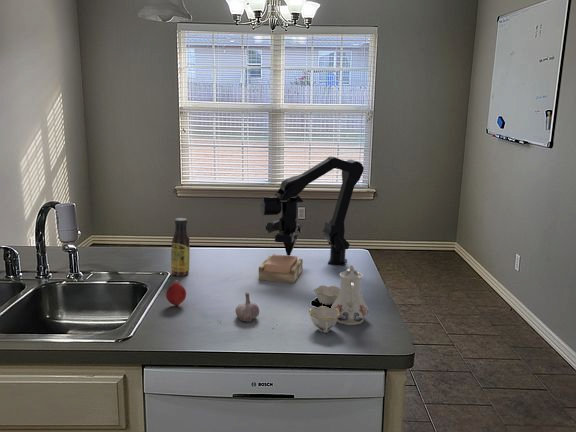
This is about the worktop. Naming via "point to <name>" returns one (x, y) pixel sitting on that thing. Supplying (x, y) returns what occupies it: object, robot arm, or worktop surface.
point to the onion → (176, 293)
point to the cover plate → (280, 263)
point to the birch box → (280, 276)
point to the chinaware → (340, 302)
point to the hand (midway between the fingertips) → (288, 255)
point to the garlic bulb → (247, 310)
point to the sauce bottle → (180, 249)
